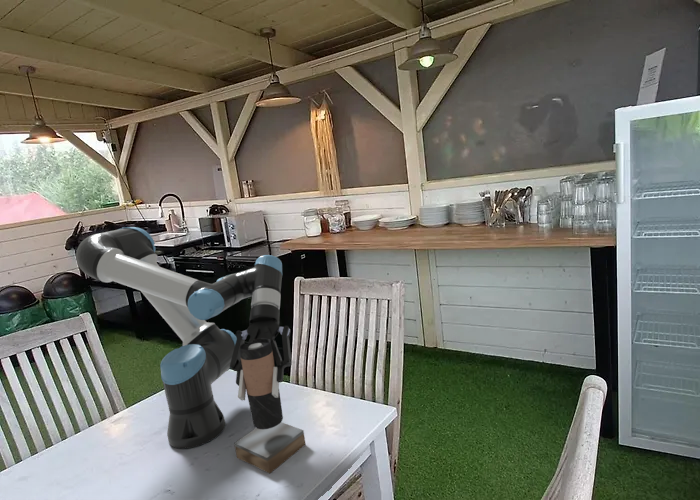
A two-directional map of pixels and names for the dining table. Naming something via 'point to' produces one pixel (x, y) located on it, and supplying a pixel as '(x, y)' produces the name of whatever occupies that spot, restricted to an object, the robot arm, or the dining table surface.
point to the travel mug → (260, 383)
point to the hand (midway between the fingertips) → (258, 397)
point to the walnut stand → (270, 446)
